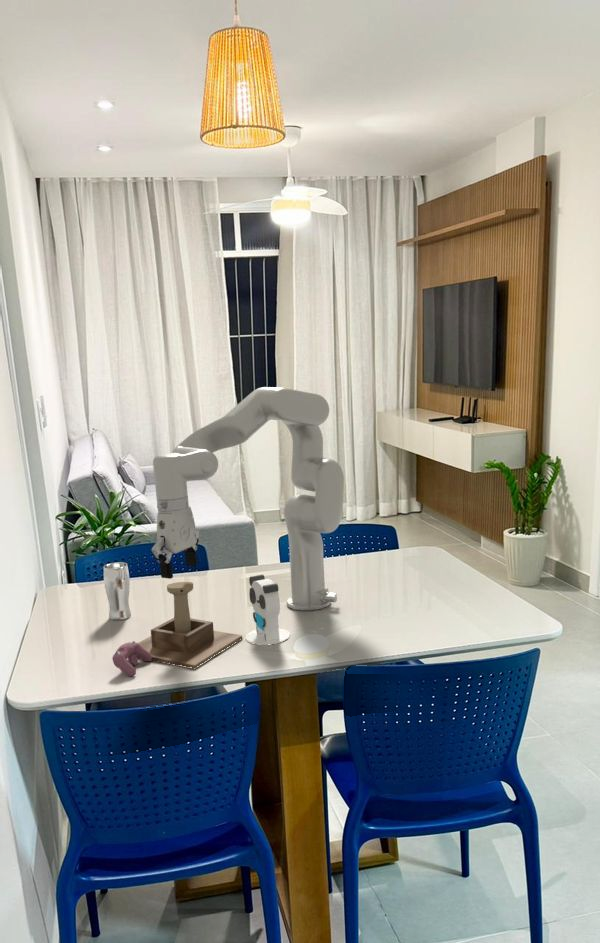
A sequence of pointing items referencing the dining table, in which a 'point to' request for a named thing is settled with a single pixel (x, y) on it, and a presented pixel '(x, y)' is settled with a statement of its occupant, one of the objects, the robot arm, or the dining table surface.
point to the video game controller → (130, 657)
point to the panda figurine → (265, 612)
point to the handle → (181, 605)
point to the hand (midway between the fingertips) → (179, 571)
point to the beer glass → (117, 590)
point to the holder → (187, 643)
